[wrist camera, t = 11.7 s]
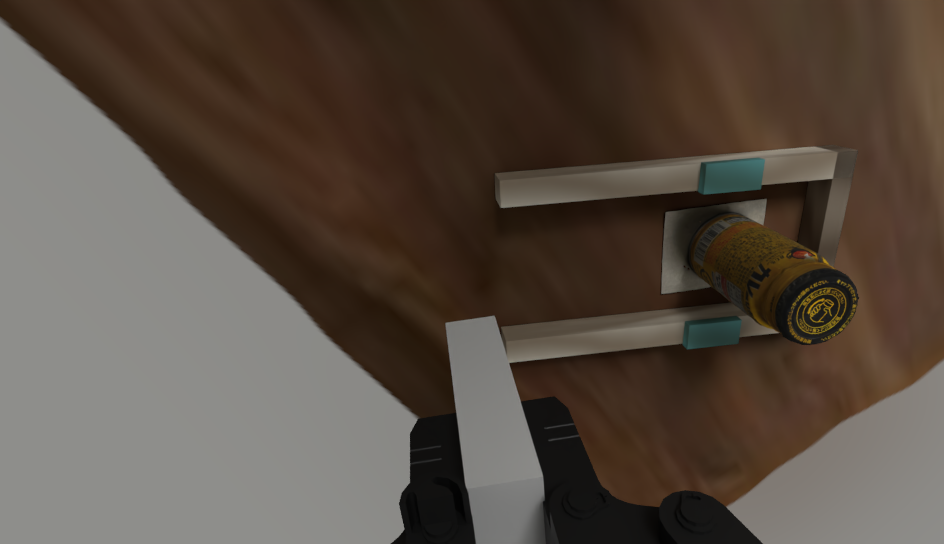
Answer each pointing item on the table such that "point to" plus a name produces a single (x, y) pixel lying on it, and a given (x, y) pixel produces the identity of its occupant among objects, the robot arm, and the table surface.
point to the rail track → (704, 174)
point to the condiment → (756, 270)
